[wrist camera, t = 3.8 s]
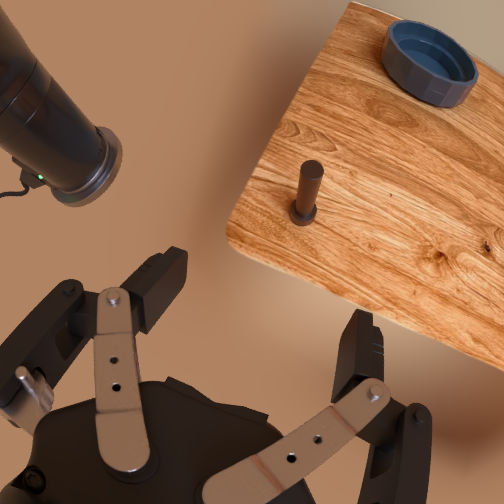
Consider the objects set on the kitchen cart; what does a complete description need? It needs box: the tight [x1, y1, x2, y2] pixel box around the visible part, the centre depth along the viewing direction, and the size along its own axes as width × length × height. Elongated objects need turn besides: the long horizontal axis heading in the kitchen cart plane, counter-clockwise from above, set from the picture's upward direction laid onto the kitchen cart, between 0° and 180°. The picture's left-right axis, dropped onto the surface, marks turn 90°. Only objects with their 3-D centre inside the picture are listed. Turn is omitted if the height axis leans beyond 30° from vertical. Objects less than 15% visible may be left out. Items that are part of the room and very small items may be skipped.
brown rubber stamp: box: [290, 160, 324, 226], centre depth 24 cm, size 2×2×9 cm
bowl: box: [381, 20, 479, 108], centre depth 29 cm, size 14×14×6 cm
